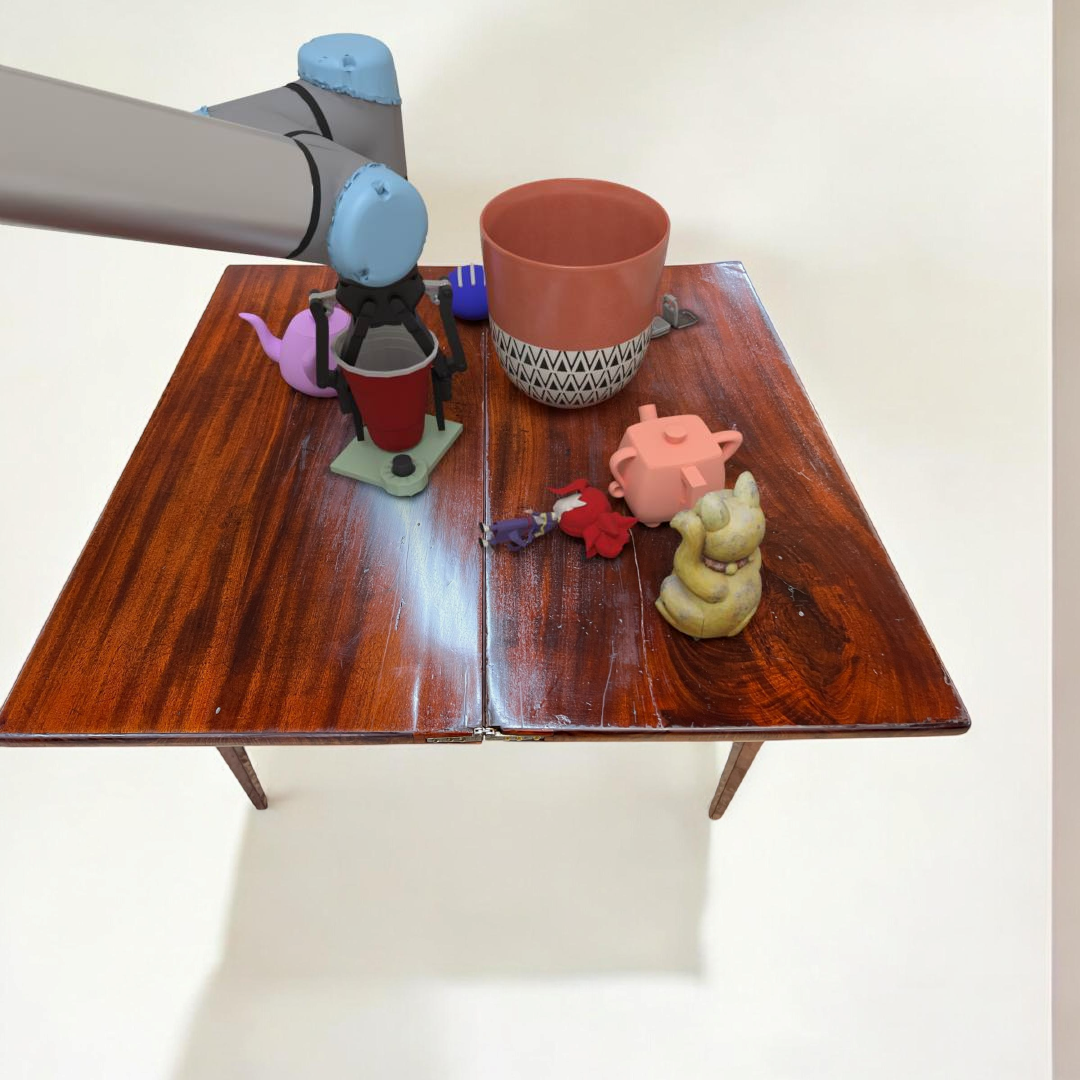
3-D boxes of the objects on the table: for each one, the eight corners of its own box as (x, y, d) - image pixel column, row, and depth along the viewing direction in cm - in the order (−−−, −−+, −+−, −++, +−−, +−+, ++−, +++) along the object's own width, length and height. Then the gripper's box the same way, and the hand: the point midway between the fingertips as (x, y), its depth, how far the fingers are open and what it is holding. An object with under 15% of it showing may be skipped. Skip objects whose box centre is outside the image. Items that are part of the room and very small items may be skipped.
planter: (526, 460, 94) (525, 284, 78) (463, 365, 106) (451, 196, 90) (680, 416, 99) (707, 243, 84) (603, 330, 111) (615, 165, 96)
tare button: (407, 479, 88) (405, 468, 87) (390, 474, 89) (388, 463, 88) (416, 467, 90) (415, 456, 89) (400, 462, 90) (398, 451, 89)
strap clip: (648, 341, 110) (651, 312, 107) (634, 329, 112) (637, 300, 109) (700, 322, 113) (705, 293, 110) (686, 311, 115) (690, 282, 112)
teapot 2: (638, 449, 95) (645, 377, 88) (737, 488, 91) (753, 416, 84) (585, 511, 88) (589, 438, 81) (690, 556, 84) (704, 483, 77)
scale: (414, 507, 89) (412, 489, 87) (324, 478, 92) (320, 461, 90) (471, 432, 97) (470, 415, 95) (386, 408, 100) (384, 391, 98)
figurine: (471, 526, 86) (610, 496, 89) (493, 598, 82) (638, 564, 85) (472, 490, 80) (620, 459, 84) (496, 565, 76) (651, 530, 80)
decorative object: (438, 242, 114) (512, 255, 114) (436, 280, 118) (508, 293, 118) (424, 286, 107) (504, 300, 107) (423, 325, 111) (499, 338, 112)
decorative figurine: (708, 563, 83) (734, 446, 73) (777, 612, 79) (815, 495, 68) (641, 616, 79) (658, 499, 68) (710, 671, 75) (740, 555, 64)
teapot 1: (403, 376, 104) (394, 312, 98) (301, 421, 98) (285, 356, 92) (352, 333, 111) (341, 271, 104) (254, 373, 105) (236, 309, 98)
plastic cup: (467, 426, 95) (460, 334, 87) (403, 480, 89) (388, 386, 81) (395, 392, 100) (381, 301, 91) (328, 441, 94) (306, 348, 85)
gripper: (252, 263, 73) (304, 463, 90) (493, 240, 76) (500, 437, 93) (254, 223, 78) (303, 419, 95) (479, 202, 81) (489, 396, 98)
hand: (400, 428), depth 94 cm, fingers closed on plastic cup, 8 cm apart
